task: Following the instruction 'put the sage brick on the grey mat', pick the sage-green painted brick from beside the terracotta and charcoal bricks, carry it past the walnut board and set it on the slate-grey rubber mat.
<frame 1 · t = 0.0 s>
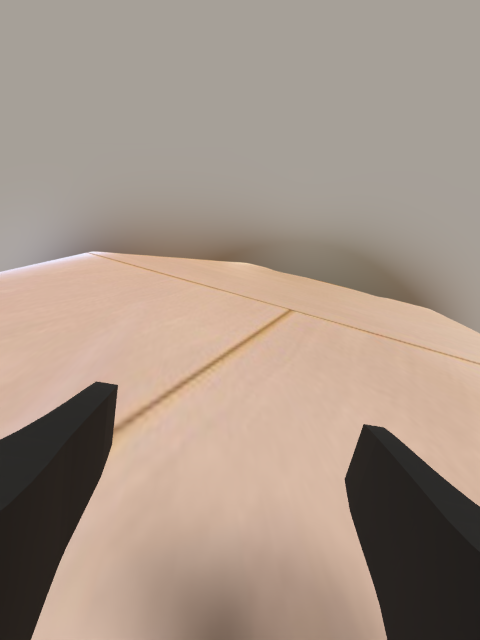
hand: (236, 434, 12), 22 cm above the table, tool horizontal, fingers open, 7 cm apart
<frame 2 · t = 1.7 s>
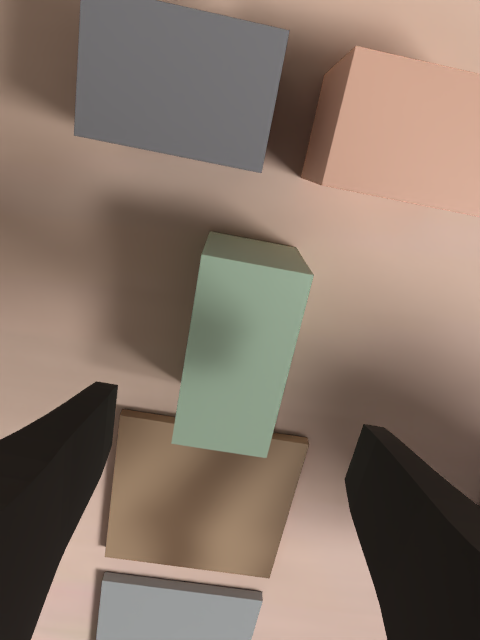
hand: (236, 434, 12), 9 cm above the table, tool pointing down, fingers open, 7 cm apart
terracotta brick: (380, 142, 18), on the table
grey mat: (174, 634, 29), on the table
walnut board: (201, 496, 25), on the table
sage brick: (237, 319, 21), on the table
charcoal brick: (193, 103, 18), on the table
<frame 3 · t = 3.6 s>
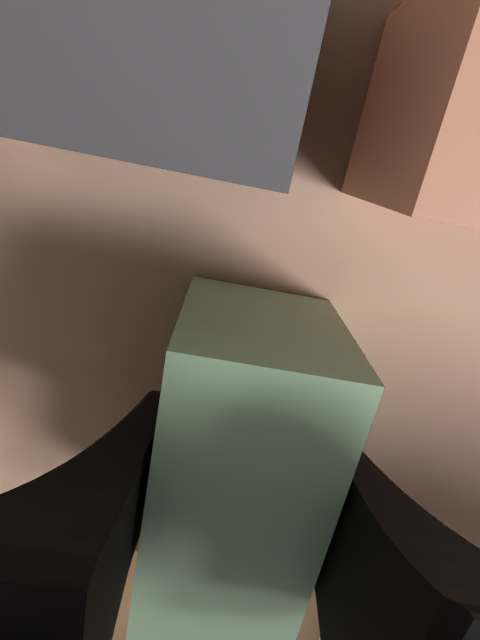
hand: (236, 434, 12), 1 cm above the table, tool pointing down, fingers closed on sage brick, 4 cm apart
terracotta brick: (474, 134, 11), on the table
walnut board: (187, 636, 18), on the table
sage brick: (236, 406, 14), on the table, touching gripper
charcoal brick: (163, 67, 10), on the table
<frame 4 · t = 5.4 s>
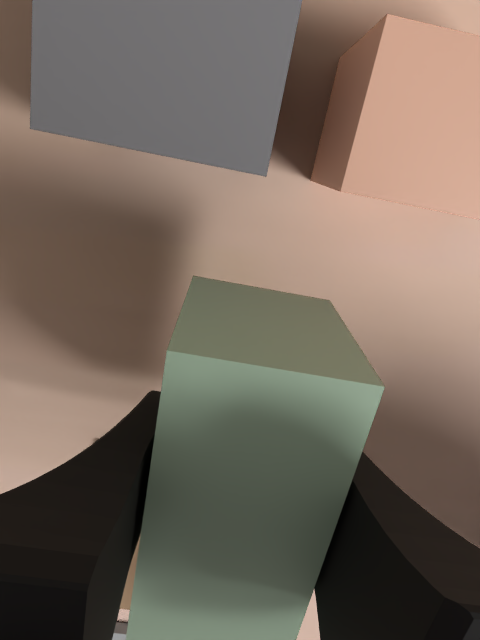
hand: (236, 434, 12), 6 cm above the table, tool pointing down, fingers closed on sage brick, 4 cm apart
terracotta brick: (404, 139, 16), on the table
walnut board: (196, 537, 22), on the table
sage brick: (236, 406, 14), point 5 cm above the table, touching gripper
charcoal brick: (183, 92, 15), on the table
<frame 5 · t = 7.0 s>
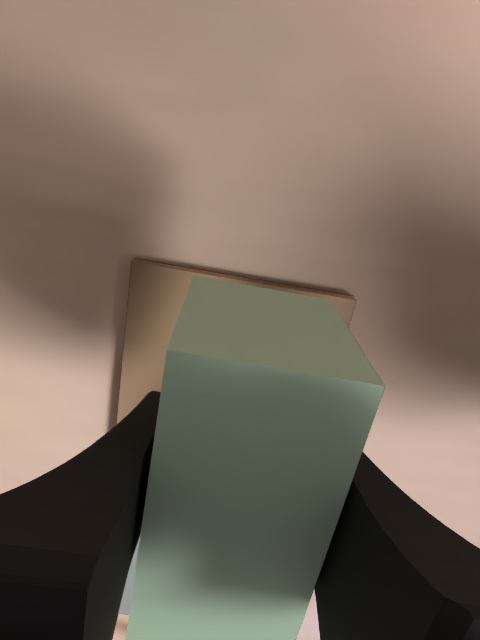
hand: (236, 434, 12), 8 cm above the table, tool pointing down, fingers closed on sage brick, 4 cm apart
grey mat: (193, 553, 25), on the table
walnut board: (227, 374, 21), on the table
sage brick: (236, 405, 14), point 7 cm above the table, touching gripper
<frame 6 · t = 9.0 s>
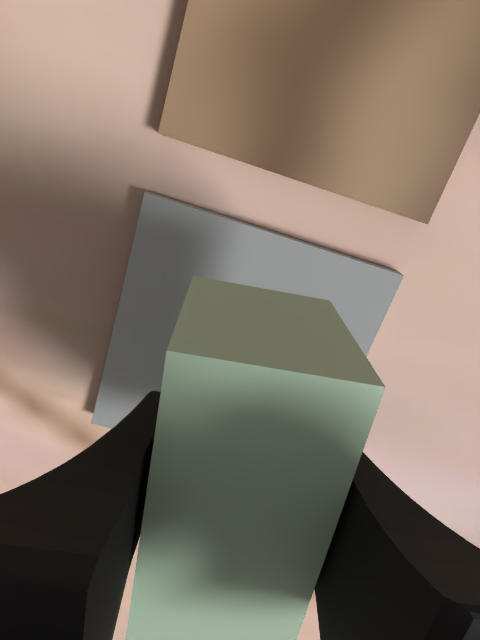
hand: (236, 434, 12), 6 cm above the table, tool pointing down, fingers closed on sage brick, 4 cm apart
grey mat: (237, 347, 18), on the table
walnut board: (349, 23, 14), on the table
sage brick: (236, 406, 14), point 4 cm above the table, touching gripper
when the fingers open (3 cm above the table, at t = 10.7 s): sage brick stays where it is, resting on grey mat.
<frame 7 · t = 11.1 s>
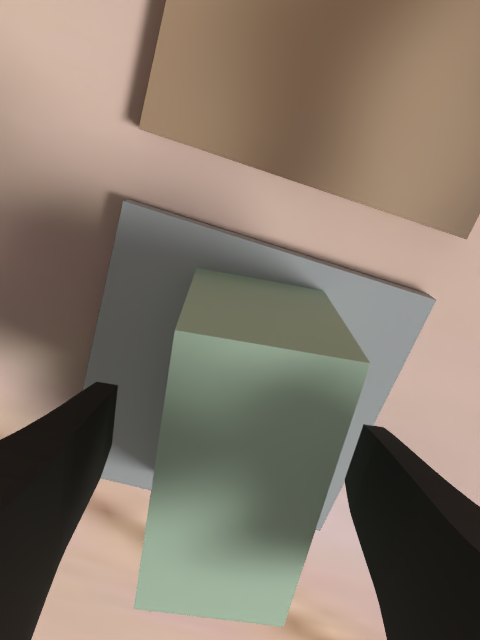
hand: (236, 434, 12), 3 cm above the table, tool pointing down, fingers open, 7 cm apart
grey mat: (236, 382, 15), on the table
sage brick: (237, 391, 15), point 1 cm above the table, touching grey mat
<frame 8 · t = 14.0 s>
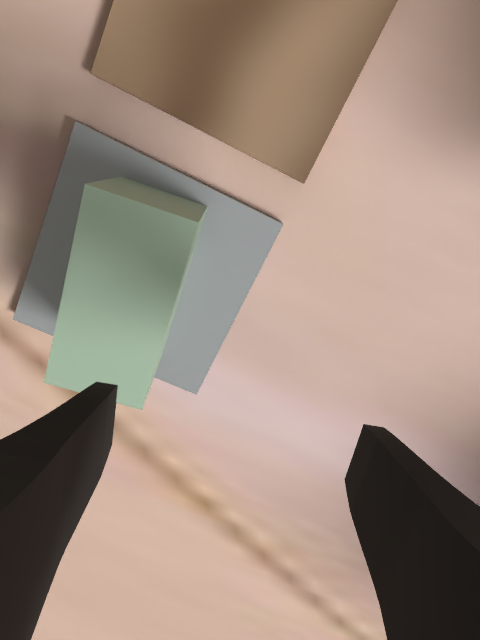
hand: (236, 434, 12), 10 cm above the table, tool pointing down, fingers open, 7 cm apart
grey mat: (145, 270, 21), on the table
walnut board: (253, 10, 18), on the table
sage brick: (143, 273, 21), point 1 cm above the table, touching grey mat
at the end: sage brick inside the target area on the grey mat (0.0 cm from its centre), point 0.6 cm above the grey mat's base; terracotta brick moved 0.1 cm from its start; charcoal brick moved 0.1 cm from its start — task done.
